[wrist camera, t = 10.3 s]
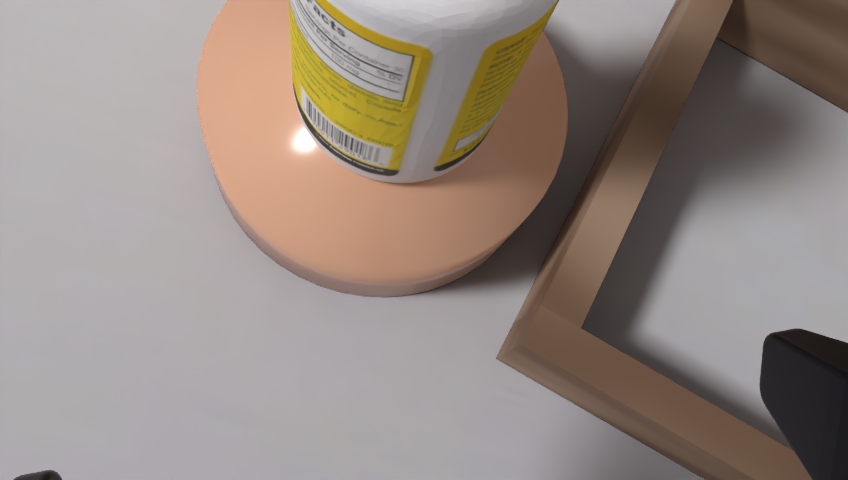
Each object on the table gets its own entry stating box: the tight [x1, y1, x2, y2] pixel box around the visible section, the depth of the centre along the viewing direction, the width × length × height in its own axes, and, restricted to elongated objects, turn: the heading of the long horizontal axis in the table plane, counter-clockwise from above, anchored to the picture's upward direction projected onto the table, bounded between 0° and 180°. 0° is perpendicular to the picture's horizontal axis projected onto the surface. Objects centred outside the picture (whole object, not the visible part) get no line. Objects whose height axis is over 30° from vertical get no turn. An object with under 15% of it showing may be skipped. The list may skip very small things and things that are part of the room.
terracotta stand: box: [197, 0, 568, 297], centre depth 20 cm, size 10×10×3 cm
